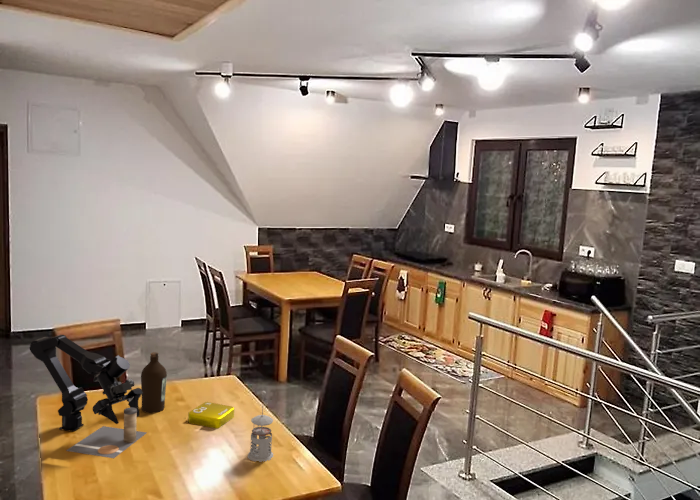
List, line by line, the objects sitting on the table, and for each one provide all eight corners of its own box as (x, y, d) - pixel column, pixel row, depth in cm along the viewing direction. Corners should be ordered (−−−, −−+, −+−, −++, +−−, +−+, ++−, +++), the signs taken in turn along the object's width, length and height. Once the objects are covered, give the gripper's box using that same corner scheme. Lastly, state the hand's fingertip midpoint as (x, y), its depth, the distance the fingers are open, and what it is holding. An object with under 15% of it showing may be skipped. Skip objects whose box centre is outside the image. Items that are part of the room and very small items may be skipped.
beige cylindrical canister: (120, 442, 213) (121, 411, 212) (127, 437, 218) (128, 406, 216) (132, 443, 212) (132, 412, 211) (138, 438, 217) (139, 408, 216)
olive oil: (138, 414, 243) (139, 357, 240) (142, 404, 253) (143, 349, 250) (164, 413, 245) (166, 356, 242) (167, 403, 255) (168, 349, 253)
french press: (251, 463, 206) (254, 397, 203) (242, 449, 216) (245, 386, 214) (277, 459, 211) (280, 393, 208) (267, 445, 221) (270, 383, 218)
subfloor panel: (65, 454, 204) (65, 450, 204) (103, 429, 226) (103, 425, 226) (113, 462, 201) (114, 457, 201) (147, 436, 223) (147, 432, 222)
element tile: (217, 429, 233) (218, 418, 232) (186, 423, 237) (186, 412, 237) (235, 416, 247) (236, 405, 247) (205, 410, 252) (205, 400, 251)
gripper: (97, 379, 208) (116, 416, 203) (140, 367, 224) (158, 401, 219) (84, 395, 213) (102, 431, 208) (126, 382, 229) (144, 415, 224)
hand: (128, 419), depth 215 cm, fingers open, 9 cm apart
